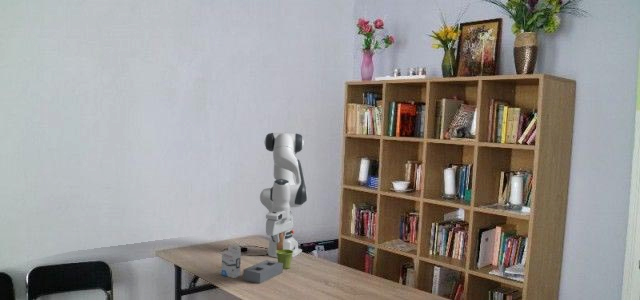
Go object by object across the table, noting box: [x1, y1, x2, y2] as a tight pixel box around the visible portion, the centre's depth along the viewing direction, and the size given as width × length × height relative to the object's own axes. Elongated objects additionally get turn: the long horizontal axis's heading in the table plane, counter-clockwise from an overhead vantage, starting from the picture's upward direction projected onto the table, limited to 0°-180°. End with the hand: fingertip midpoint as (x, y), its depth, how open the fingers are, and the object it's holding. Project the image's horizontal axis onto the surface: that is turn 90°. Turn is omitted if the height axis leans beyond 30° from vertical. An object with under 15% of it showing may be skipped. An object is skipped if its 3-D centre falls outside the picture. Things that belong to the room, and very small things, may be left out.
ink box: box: [220, 243, 242, 279], centre depth 234 cm, size 8×5×15 cm, turn 60°
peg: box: [277, 232, 283, 251], centre depth 230 cm, size 3×3×9 cm
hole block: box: [242, 259, 284, 284], centre depth 235 cm, size 20×10×5 cm, turn 152°
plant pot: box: [276, 249, 293, 270], centre depth 250 cm, size 9×9×9 cm
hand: (279, 241), depth 230 cm, fingers closed on peg, 3 cm apart
